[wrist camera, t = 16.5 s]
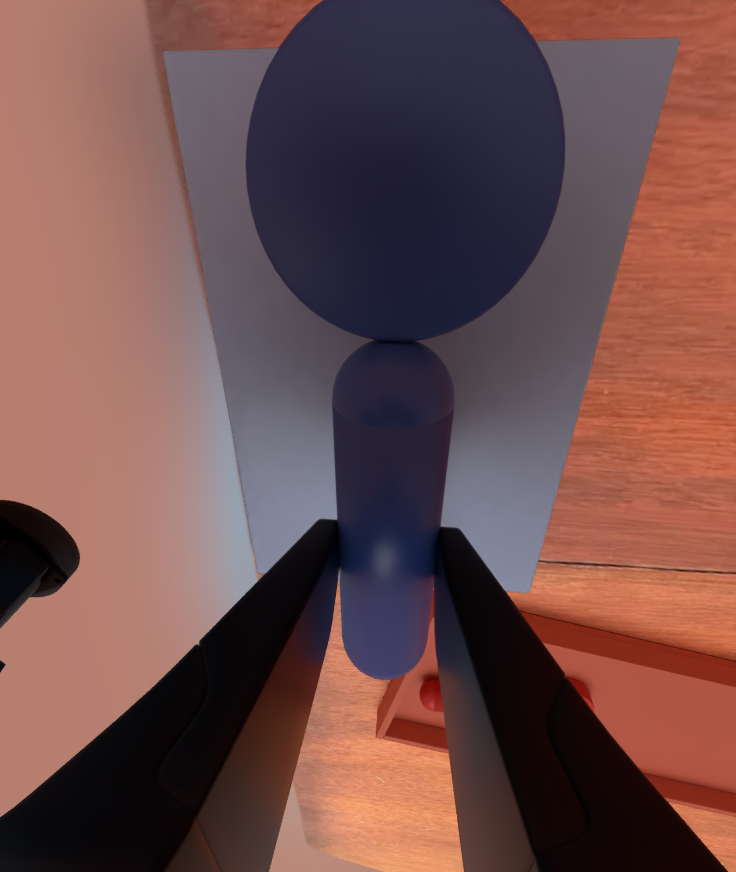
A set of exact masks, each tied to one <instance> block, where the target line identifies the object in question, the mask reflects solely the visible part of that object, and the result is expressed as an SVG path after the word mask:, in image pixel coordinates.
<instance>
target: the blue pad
mask: <svg viewBox="0 0 736 872" xmlns="http://www.w3.org/2000/svg"><path fill="white" fill-rule="evenodd" d="M536 42H537V44H538V46H539V48H540V50H541V51H542V53H543V55H544V57H545V59H546V61H547V63H548V65H549V68H550V70H551V73H552V76H553V78H554V81H555V84H556V86H557V90H558V94H559V99H560V103H561V107H562V112H563V119H564V129H565V169H564V176H563V183H562V190H561V194H560V198H559V202H558V206H557V210H556V214H555V216H554V219H553V222H552V224H551V227H550V229H549V232H548V235H547V237H546V239H545V241H544V243H543V245H542V247H541V249H540V251H539V253H538V255H537V256H536V258H535V259H534V261H533V262H532V264H531V266H530V267H529V269H528V270H527V272H526V273H525V275H524V276H523V277H522V278H521V279H520V281H519V282H518V283H517V284H516V285H515V287H514V288H513V289H512V290H511V291H510V292H509V293H508V294H507V295H506V296H505V297H504V298H503V299H502V300H501V301H500V302H499V303H498V304H497V305H495V306H494V307H493V308H491V309H490V310H489V311H487V312H486V313H485V314H483V315H482V316H481V317H479V318H477V319H476V320H474V321H472V322H470V323H469V324H467V325H465V326H464V327H461V328H459V329H457V330H454V331H452V332H450V333H447V334H444V335H441V336H437V337H434V338H430V339H425V340H418V341H417V342H419V343H422V344H424V345H425V346H427V347H428V348H430V349H431V350H432V351H433V352H435V353H436V354H437V355H438V356H439V358H440V359H441V360H442V361H443V363H444V364H445V365H446V368H447V370H448V372H449V374H450V376H451V378H452V382H453V387H454V413H453V421H452V430H451V439H450V448H449V456H448V465H447V474H446V483H445V491H444V500H443V509H442V518H441V527H442V526H443V527H457V528H459V529H460V530H461V531H462V532H463V534H464V535H465V536H466V538H467V539H468V540H469V542H470V543H471V545H472V546H473V547H474V549H475V550H476V551H477V553H478V554H479V556H480V557H481V558H482V560H483V561H484V563H485V564H486V565H487V567H488V568H489V569H490V571H491V572H492V574H493V575H494V576H495V578H496V579H497V580H498V582H499V583H500V585H501V586H502V587H503V589H504V590H505V591H509V592H522V593H529V592H530V589H531V586H532V582H533V578H534V575H535V571H536V567H537V564H538V560H539V556H540V553H541V549H542V545H543V542H544V538H545V534H546V531H547V527H548V523H549V520H550V516H551V512H552V509H553V505H554V501H555V498H556V494H557V490H558V487H559V483H560V479H561V476H562V472H563V468H564V465H565V461H566V457H567V454H568V450H569V446H570V443H571V439H572V435H573V432H574V428H575V425H576V421H577V417H578V414H579V410H580V406H581V403H582V399H583V395H584V392H585V388H586V384H587V381H588V377H589V373H590V370H591V366H592V362H593V359H594V355H595V351H596V348H597V344H598V340H599V337H600V333H601V329H602V326H603V322H604V318H605V315H606V311H607V307H608V304H609V300H610V296H611V293H612V289H613V285H614V282H615V278H616V274H617V271H618V267H619V263H620V260H621V256H622V252H623V249H624V245H625V241H626V238H627V234H628V230H629V227H630V223H631V219H632V216H633V212H634V208H635V205H636V201H637V197H638V194H639V190H640V186H641V183H642V179H643V175H644V172H645V168H646V164H647V161H648V157H649V153H650V150H651V146H652V142H653V139H654V135H655V132H656V128H657V124H658V121H659V117H660V113H661V110H662V106H663V102H664V99H665V95H666V91H667V88H668V84H669V80H670V77H671V73H672V69H673V66H674V62H675V58H676V55H677V51H678V47H679V44H680V39H679V38H677V37H659V38H622V39H585V40H547V41H536ZM278 49H279V48H249V49H211V50H174V51H165V52H164V53H163V58H164V63H165V69H166V74H167V80H168V85H169V91H170V96H171V101H172V107H173V112H174V118H175V123H176V129H177V134H178V140H179V145H180V151H181V156H182V162H183V167H184V173H185V178H186V184H187V189H188V195H189V200H190V205H191V211H192V216H193V222H194V227H195V233H196V238H197V244H198V249H199V255H200V260H201V266H202V271H203V277H204V282H205V288H206V293H207V299H208V304H209V309H210V315H211V320H212V326H213V331H214V337H215V342H216V348H217V353H218V359H219V364H220V370H221V375H222V381H223V386H224V392H225V397H226V402H227V408H228V413H229V419H230V424H231V430H232V435H233V441H234V446H235V452H236V457H237V463H238V468H239V474H240V479H241V485H242V490H243V496H244V501H245V506H246V512H247V517H248V523H249V528H250V534H251V539H252V545H253V550H254V556H255V561H256V567H257V572H258V573H266V572H267V571H268V570H269V569H270V568H271V567H272V566H273V565H274V564H275V563H276V562H277V561H278V560H279V559H280V558H281V557H282V556H283V555H284V554H285V553H286V552H287V551H288V550H289V549H290V548H291V547H292V546H293V545H294V544H295V543H296V542H297V541H298V540H299V539H300V538H301V537H302V536H303V535H304V534H305V533H306V532H307V530H308V529H309V528H310V527H311V526H312V525H313V524H314V523H315V522H316V521H317V520H319V519H336V520H337V504H336V481H335V458H334V435H333V412H332V393H333V385H334V382H335V378H336V375H337V373H338V371H339V369H340V368H341V366H342V364H343V363H344V361H345V360H346V359H347V358H348V357H349V355H350V354H351V353H352V352H354V351H355V350H356V349H358V348H359V347H360V346H362V345H363V344H365V343H368V342H370V341H373V339H369V338H364V337H360V336H357V335H355V334H352V333H349V332H346V331H344V330H342V329H340V328H338V327H336V326H334V325H332V324H330V323H328V322H327V321H325V320H324V319H322V318H321V317H319V316H318V315H316V314H315V313H313V312H312V311H311V310H310V309H309V308H308V307H307V306H305V305H304V304H303V303H302V302H301V301H300V300H299V299H298V298H297V297H296V296H295V295H294V294H293V293H292V292H291V290H290V289H289V288H288V287H287V286H286V285H285V283H284V282H283V280H282V279H281V278H280V276H279V275H278V273H277V272H276V271H275V269H274V267H273V265H272V264H271V262H270V260H269V258H268V256H267V254H266V253H265V250H264V248H263V246H262V243H261V241H260V238H259V236H258V234H257V231H256V227H255V224H254V220H253V217H252V213H251V209H250V204H249V198H248V192H247V182H246V167H245V163H246V142H247V135H248V129H249V123H250V116H251V113H252V109H253V106H254V102H255V99H256V95H257V92H258V89H259V87H260V84H261V82H262V80H263V77H264V75H265V72H266V70H267V68H268V66H269V64H270V63H271V61H272V59H273V57H274V56H275V54H276V52H277V50H278ZM338 579H340V574H339V575H338Z"/></svg>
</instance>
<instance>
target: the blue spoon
mask: <svg viewBox="0 0 736 872" xmlns="http://www.w3.org/2000/svg"><path fill="white" fill-rule="evenodd" d="M245 167H246V182H247V192H248V198H249V204H250V209H251V213H252V217H253V220H254V224H255V227H256V231H257V234H258V236H259V238H260V241H261V243H262V246H263V248H264V250H265V253H266V254H267V256H268V258H269V260H270V262H271V264H272V265H273V267H274V269H275V271H276V272H277V273H278V275H279V276H280V278H281V279H282V280H283V282H284V283H285V285H286V286H287V287H288V288H289V289H290V290H291V292H292V293H293V294H294V295H295V296H296V297H297V298H298V299H299V300H300V301H301V302H302V303H303V304H304V305H305V306H307V307H308V308H309V309H310V310H311V311H312V312H313V313H315V314H316V315H318V316H319V317H321V318H322V319H324V320H325V321H327V322H328V323H330V324H332V325H334V326H336V327H338V328H340V329H342V330H344V331H346V332H349V333H352V334H355V335H357V336H360V337H364V338H369V339H373V341H370V342H368V343H365V344H363V345H362V346H360V347H359V348H358V349H356V350H355V351H354V352H352V353H351V354H350V355H349V357H348V358H347V359H346V360H345V361H344V363H343V364H342V366H341V368H340V369H339V371H338V373H337V375H336V378H335V382H334V385H333V393H332V412H333V435H334V458H335V481H336V504H337V523H338V537H339V561H340V568H339V574H340V597H341V620H342V638H343V643H344V648H345V650H346V653H347V655H348V657H349V658H350V660H351V661H352V663H353V664H354V666H355V667H356V668H357V669H359V670H360V671H361V672H363V673H364V674H366V675H368V676H370V677H372V678H375V679H380V680H391V679H396V678H399V677H401V676H404V675H406V674H407V673H409V672H410V671H411V670H413V668H414V667H415V666H416V665H417V664H418V663H419V661H420V660H421V658H422V656H423V655H424V651H425V648H426V645H427V640H428V632H429V623H430V614H431V605H432V597H433V588H434V569H435V560H436V551H437V542H438V533H439V530H440V527H441V518H442V509H443V500H444V491H445V483H446V474H447V465H448V456H449V448H450V439H451V430H452V421H453V413H454V387H453V382H452V378H451V376H450V374H449V372H448V370H447V368H446V365H445V364H444V363H443V361H442V360H441V359H440V358H439V356H438V355H437V354H436V353H435V352H433V351H432V350H431V349H430V348H428V347H427V346H425V345H424V344H422V343H419V342H417V341H418V340H425V339H430V338H434V337H437V336H441V335H444V334H447V333H450V332H452V331H454V330H457V329H459V328H461V327H464V326H465V325H467V324H469V323H470V322H472V321H474V320H476V319H477V318H479V317H481V316H482V315H483V314H485V313H486V312H487V311H489V310H490V309H491V308H493V307H494V306H495V305H497V304H498V303H499V302H500V301H501V300H502V299H503V298H504V297H505V296H506V295H507V294H508V293H509V292H510V291H511V290H512V289H513V288H514V287H515V285H516V284H517V283H518V282H519V281H520V279H521V278H522V277H523V276H524V275H525V273H526V272H527V270H528V269H529V267H530V266H531V264H532V262H533V261H534V259H535V258H536V256H537V255H538V253H539V251H540V249H541V247H542V245H543V243H544V241H545V239H546V237H547V235H548V232H549V229H550V227H551V224H552V222H553V219H554V216H555V214H556V210H557V206H558V202H559V198H560V194H561V190H562V183H563V176H564V169H565V129H564V119H563V112H562V107H561V103H560V99H559V94H558V90H557V86H556V84H555V81H554V78H553V76H552V73H551V70H550V68H549V65H548V63H547V61H546V59H545V57H544V55H543V53H542V51H541V50H540V48H539V46H538V44H537V42H536V40H535V39H534V38H533V36H532V35H531V34H530V32H529V31H528V30H527V28H526V27H525V26H524V24H523V23H522V22H521V20H520V19H519V18H518V17H517V16H516V15H515V14H514V13H513V12H512V11H511V10H510V9H509V8H507V7H506V6H505V5H504V4H503V3H502V2H501V1H500V0H323V1H321V2H320V3H319V4H317V5H316V6H315V7H314V8H313V9H312V10H311V11H309V12H308V13H307V14H306V15H305V16H304V17H303V18H302V19H301V20H300V21H299V22H298V23H297V24H296V25H295V27H294V28H293V29H292V31H291V32H290V33H289V35H288V36H287V37H286V39H285V40H284V41H283V43H282V44H281V45H280V47H279V49H278V50H277V52H276V54H275V56H274V57H273V59H272V61H271V63H270V64H269V66H268V68H267V70H266V72H265V75H264V77H263V80H262V82H261V84H260V87H259V89H258V92H257V95H256V99H255V102H254V106H253V109H252V113H251V116H250V123H249V129H248V135H247V142H246V163H245Z"/></svg>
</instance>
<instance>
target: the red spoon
mask: <svg viewBox="0 0 736 872" xmlns="http://www.w3.org/2000/svg"><path fill="white" fill-rule="evenodd" d="M565 678H569V677H565ZM569 679H570V681H571V682H572V683H573V685H574V686H575V688H576V689H577V690H578V692H579V693H580V695H581V696H582V697H583V699H584V700H585V701H586V703H587V704H588V705H589V707H590V708H591V709H592V711H593V712H594V704H593V702H592V699H591V696H590V693H589V690H588V688H587V686H586V685H585V684H584V683H582V682H581V681H579V680H577V679H573V678H569ZM419 697H420V701H421V703H422V705H423V706H424V707H425V708H426V709H428V710H430V711H433V712H443V704H442V696H441V688H440V681H439V680H437V679H430V680H427V681H425V682H424V683H423V684H422V686H421V688H420V692H419ZM443 713H444V712H443Z"/></svg>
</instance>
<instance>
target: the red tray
mask: <svg viewBox="0 0 736 872" xmlns="http://www.w3.org/2000/svg"><path fill="white" fill-rule="evenodd" d="M521 613H522V615H523V616H524V618H525V619H526V620H527V622H528V623H529V624H530V626H531V627H532V629H533V630H534V631H535V633H536V634H537V635H538V637H539V638H540V640H541V641H542V642H543V644H544V645H545V647H546V648H547V649H548V651H549V652H550V653H551V655H552V656H553V658H554V659H555V660H556V662H557V663H558V664H559V666H560V667H561V669H562V670H563V671H564V673H565V677H569V678H573V679H577V680H579V681H581V682H582V683H584V684H585V685H586V686H587V688H588V690H589V693H590V696H591V699H592V702H593V704H594V713H595V714H596V716H597V717H598V718H599V720H600V721H601V722H602V724H603V725H604V726H605V728H606V729H607V730H608V732H609V733H610V734H611V735H612V737H613V738H614V739H615V740H616V741H617V743H618V744H619V745H620V746H621V747H622V749H623V750H624V751H625V752H626V753H627V755H628V756H629V757H630V758H631V759H632V761H633V762H634V763H635V764H636V765H637V767H638V768H639V769H640V770H641V771H642V773H643V774H644V775H645V776H646V777H647V778H648V780H649V781H650V782H651V783H652V784H653V785H654V787H655V788H656V789H657V790H658V791H659V792H660V793H661V795H662V796H663V797H664V798H665V799H666V800H667V802H670V803H674V804H679V805H683V806H688V807H692V808H697V809H701V810H706V811H710V812H715V813H719V814H724V815H728V816H733V817H736V662H734V661H730V660H726V659H721V658H717V657H713V656H708V655H704V654H700V653H695V652H691V651H687V650H683V649H678V648H674V647H670V646H665V645H661V644H657V643H653V642H648V641H644V640H640V639H635V638H631V637H627V636H623V635H618V634H614V633H610V632H605V631H601V630H597V629H592V628H588V627H584V626H580V625H575V624H571V623H567V622H562V621H558V620H554V619H550V618H545V617H541V616H537V615H532V614H528V613H524V612H521ZM430 679H437V680H439V673H438V665H437V657H436V648H435V632H434V591H433V597H432V605H431V614H430V623H429V632H428V640H427V645H426V648H425V651H424V655H423V656H422V658H421V660H420V661H419V663H418V664H417V665H416V666H415V667H414V668H413V670H411V671H410V672H409V673H407V674H406V675H404V676H401V677H399V678H396V679H392V680H391V683H390V685H389V687H388V689H387V691H386V694H385V696H384V698H383V700H382V703H381V705H380V707H379V709H378V711H377V725H376V738H380V739H384V740H389V741H393V742H398V743H402V744H407V745H411V746H416V747H420V748H425V749H430V750H434V751H439V752H443V753H448V754H449V751H448V743H447V735H446V727H445V720H444V713H443V712H433V711H430V710H428V709H426V708H425V707H424V706H423V705H422V703H421V701H420V697H419V692H420V688H421V686H422V684H423V683H424V682H425V681H427V680H430Z"/></svg>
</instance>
